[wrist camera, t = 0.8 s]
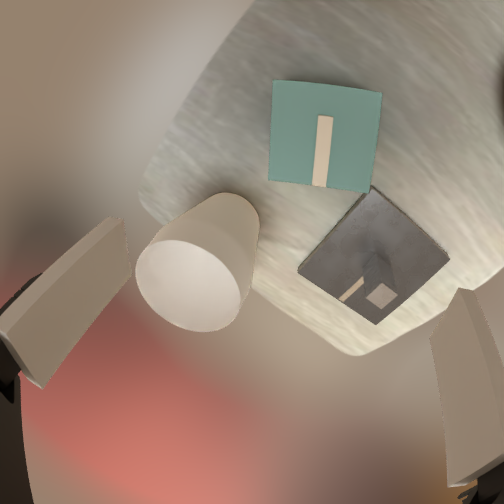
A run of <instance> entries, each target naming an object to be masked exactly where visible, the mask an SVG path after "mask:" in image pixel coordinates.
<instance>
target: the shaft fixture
mask: <svg viewBox="0 0 504 504" xmlns="http://www.w3.org/2000/svg"><path fill="white" fill-rule="evenodd" d="M449 260H450V258H449V256H448V254H447V253H446V252H445V251H444V250H443V249H442V248H441V247H440V246H439V245H438V244H436V243H435V242H434V241H433V240H432V239H431V238H430V237H429V236H428V235H427V234H426V233H425V232H424V231H423V230H422V229H421V228H420V227H418V226H417V225H416V224H415V223H414V222H413V221H412V220H411V219H410V218H409V217H407V216H406V215H405V214H404V213H403V212H402V211H401V210H400V209H398V208H397V207H396V206H395V205H394V204H393V203H391V202H390V201H389V200H388V199H387V198H386V197H384V196H383V195H382V194H381V193H380V192H378V191H377V190H376V189H375V188H374V187H372V186H370V189H369V194H367V193H364V194H363V195H362V196H361V198H360V199H359V200H358V201H357V202H356V203H355V205H354V206H353V207H352V208H351V209H350V210H349V211H348V213H347V214H346V215H345V216H344V217H343V218H342V219H341V221H340V222H339V223H338V224H337V225H336V226H335V227H334V228H333V230H332V231H331V232H330V233H329V234H328V235H327V236H326V237H325V239H324V240H323V241H322V242H321V243H320V244H319V245H318V246H317V248H316V249H315V250H314V251H313V252H312V253H311V254H310V255H309V256H308V257H307V259H306V260H305V261H304V262H303V263H302V264H301V265H300V266H299V267H298V272H297V273H299V274H300V275H302V276H303V277H305V278H306V279H308V280H309V281H311V282H312V283H314V284H315V285H317V286H318V287H320V288H321V289H323V290H324V291H326V292H327V293H329V294H330V295H332V296H333V297H335V298H336V299H338V300H339V301H341V302H342V303H344V304H345V305H347V306H348V307H350V308H351V309H353V310H354V311H356V312H357V313H359V314H360V315H362V316H363V317H364V318H366V319H367V320H369V321H370V322H372V323H373V324H375V325H377V324H378V323H379V322H380V321H382V320H383V319H384V318H385V317H387V316H388V315H389V314H390V313H391V312H393V311H394V310H395V309H396V308H397V307H399V306H400V305H401V304H402V303H403V302H404V301H406V300H407V299H408V298H409V297H410V296H411V295H412V294H414V293H415V292H416V291H417V290H418V289H419V288H420V287H421V286H423V285H424V284H425V283H426V282H427V281H428V280H429V279H430V278H431V277H432V276H433V275H434V274H436V273H437V272H438V271H439V270H440V269H441V268H442V267H443V266H444V265H445V264H446V263H447V262H448V261H449Z"/></svg>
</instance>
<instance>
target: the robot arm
mask: <svg viewBox="0 0 504 504" xmlns="http://www.w3.org/2000/svg"><path fill="white" fill-rule="evenodd" d="M131 275H132V272H131V267H130V260H129V254H128V247H127V241H126V234H125V228H124V220H123V219H118V218H113V217H108V218H107V219H105V220H104V221H103V222H101V223H100V224H99V225H98V226H97V227H95V228H94V229H93V230H92V231H90V232H89V233H88V234H87V235H86V236H85V237H83V238H82V239H81V240H80V241H79V242H78V243H76V244H75V245H74V246H73V247H72V248H71V249H69V250H68V251H67V252H66V253H65V254H64V255H63V256H62V257H60V258H59V259H58V260H57V261H56V262H55V263H54V264H53V265H51V266H50V267H49V268H48V269H47V270H46V271H45V272H44V273H40V274H39V275H37V276H35V277H33V278H32V279H30V280H29V281H28V282H27V283H26V284H25V285H24V286H23V287H22V288H21V290H19V291H18V292H16V293H15V294H14V297H12V298H11V299H10V300H9V301H8V302H7V303H5V305H4V306H3V307H2V308H1V309H0V504H34V503H33V499H32V493H31V489H30V483H29V478H28V472H27V466H26V458H25V451H24V442H23V431H22V418H21V395H20V394H21V393H20V377H19V376H18V373H19V372H20V370H22V372H23V373H24V375H25V376H26V377H27V379H28V380H29V381H31V382H32V383H34V384H35V385H37V386H38V387H40V388H41V389H43V388H44V387H45V385H46V384H47V382H48V381H49V380H50V378H51V377H52V375H53V374H54V373H55V371H56V370H57V369H58V367H59V365H60V364H61V363H62V362H63V360H64V359H65V358H66V356H67V355H68V354H69V352H70V351H71V350H72V348H73V347H74V346H75V344H76V343H77V342H78V340H79V339H80V338H81V337H82V335H83V334H84V333H85V331H86V330H87V329H88V328H89V326H90V325H91V324H92V323H93V321H94V320H95V319H96V318H97V316H98V315H99V314H100V313H101V311H102V310H103V309H104V307H105V306H106V305H107V304H108V303H109V302H110V300H111V299H112V298H113V297H114V295H115V294H116V293H117V292H118V291H119V289H120V288H121V287H122V286H123V285H124V283H125V282H126V281H127V280H128V279H129V278H130V276H131ZM429 339H430V343H431V348H432V353H433V358H434V363H435V369H436V374H437V380H438V386H439V392H440V399H441V406H442V414H443V423H444V433H445V444H446V458H447V481H448V482H447V487H454V486H462V485H466V484H468V483H470V482H472V481H474V480H475V479H477V481H478V485H476V486H474V487H473V488H471V489H469V490H467V491H465V492H463V493H461V494H460V495H459V496H458V499H460V498H463V497H464V496H466V495H468V497H467V498H466V499H464V500H462V502H463V504H504V367H503V364H502V361H501V358H500V355H499V352H498V349H497V347H496V344H495V341H494V338H493V336H492V333H491V330H490V328H489V325H488V323H487V320H486V318H485V316H484V313H483V311H482V309H481V306H480V304H479V302H478V299H477V297H476V295H475V293H474V291H472V290H468V289H463V288H458V290H457V291H456V293H455V295H454V297H453V299H452V301H451V302H450V304H449V306H448V308H447V310H446V311H445V313H444V315H443V316H442V318H441V320H440V322H439V323H438V325H437V326H436V328H435V330H434V331H433V333H432V335H431V336H430V338H429Z"/></svg>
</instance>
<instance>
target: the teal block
mask: <svg viewBox="0 0 504 504" xmlns="http://www.w3.org/2000/svg"><path fill="white" fill-rule="evenodd" d="M382 94H383V93H380V92H375V91H370V90H364V89H358V88H352V87H345V86H338V85H330V84H322V83H313V82H302V81H290V80H273V85H272V109H271V131H270V152H269V172H268V180H272V181H281V182H289V183H298V184H305V185H313V186H320V187H328V188H335V189H342V190H348V191H355V192H361V193H367V194H369V189H370V183H371V177H372V171H373V165H374V158H375V152H376V145H377V137H378V130H379V122H380V113H381V104H382Z"/></svg>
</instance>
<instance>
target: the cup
mask: <svg viewBox="0 0 504 504" xmlns="http://www.w3.org/2000/svg"><path fill="white" fill-rule="evenodd" d="M259 227H260V222H259V217H258V214H257V212H256V210H255V208H254V207H253V206H252V205H251V204H250V203H249V202H248V201H247V200H246V199H244V198H243V197H241V196H239V195H236V194H233V193H218V194H215V195H213V196H211V197H209V198H208V199H206V200H204V201H203V202H201V203H200V204H198V205H196V206H195V207H193V208H192V209H190V210H188V211H187V212H185V213H184V214H182V215H180V216H179V217H177V218H176V219H174V220H173V221H171V222H170V223H168V224H167V225H165V226H164V227H163V228H162V229H161V230H160V231H158V233H157V234H156V235H155V237H154V238H153V239H152V241H151V242H150V243H149V245H148V246H147V247H146V248H145V249H144V251H143V252H142V253H141V254H140V256H139V258H138V260H137V264H136V270H135V274H136V281H137V285H138V287H139V290H140V292H141V294H142V295H143V297H144V299H145V300H146V302H147V303H148V304H149V306H150V307H151V308H152V309H153V310H154V311H155V312H156V313H157V314H159V315H160V316H161V317H163V318H164V319H166V320H167V321H169V322H170V323H172V324H174V325H176V326H178V327H181V328H184V329H187V330H192V331H197V332H211V331H216V330H220V329H222V328H224V327H226V326H228V325H229V324H230V323H231V322H232V321H233V320H234V319H235V318H236V316H237V314H238V312H239V310H240V308H241V306H242V304H243V302H244V300H245V298H246V296H247V294H248V292H249V290H250V287H251V283H252V278H253V271H254V264H255V257H256V250H257V242H258V235H259Z"/></svg>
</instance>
